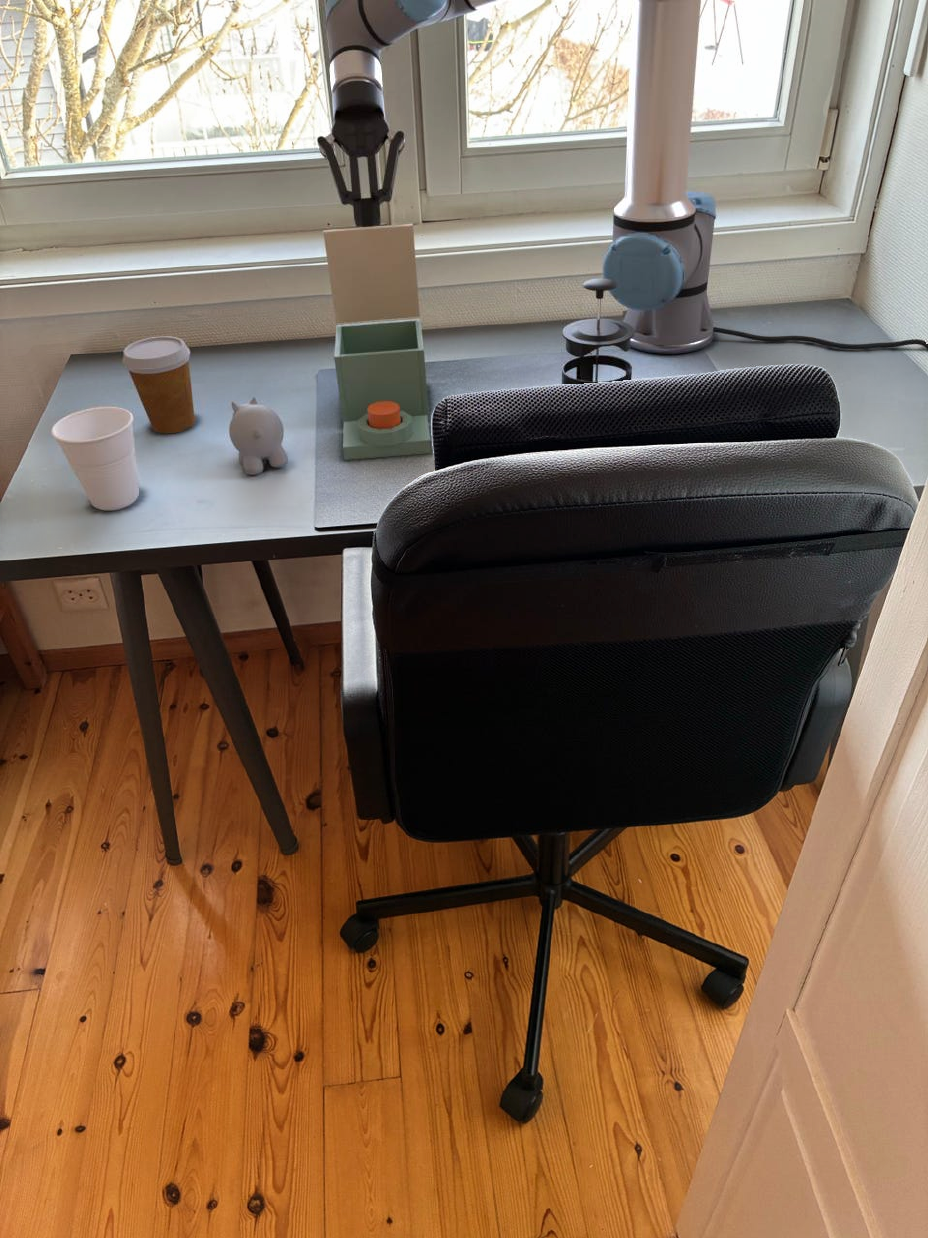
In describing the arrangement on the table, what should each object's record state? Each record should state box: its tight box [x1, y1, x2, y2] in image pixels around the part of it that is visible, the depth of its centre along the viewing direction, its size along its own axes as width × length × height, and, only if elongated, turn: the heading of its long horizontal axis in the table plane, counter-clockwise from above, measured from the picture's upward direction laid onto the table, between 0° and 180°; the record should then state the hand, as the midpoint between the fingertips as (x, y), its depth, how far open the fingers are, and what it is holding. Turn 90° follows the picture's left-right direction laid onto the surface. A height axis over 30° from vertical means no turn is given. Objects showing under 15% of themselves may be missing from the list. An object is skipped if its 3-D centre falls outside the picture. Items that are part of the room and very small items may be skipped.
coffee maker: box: [333, 318, 430, 426], centre depth 140 cm, size 13×13×11 cm
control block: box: [342, 411, 432, 461], centre depth 132 cm, size 12×9×4 cm
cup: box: [50, 406, 140, 512], centre depth 121 cm, size 10×10×11 cm
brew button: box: [367, 401, 401, 429], centre depth 129 cm, size 4×4×2 cm
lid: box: [322, 223, 421, 324], centre depth 137 cm, size 14×13×1 cm
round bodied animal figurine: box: [228, 397, 289, 476], centre depth 129 cm, size 7×12×8 cm, turn 23°
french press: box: [561, 277, 634, 385], centre depth 122 cm, size 12×9×23 cm
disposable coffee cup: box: [121, 335, 196, 434], centre depth 138 cm, size 10×10×12 cm
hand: (369, 245), depth 135 cm, fingers closed
